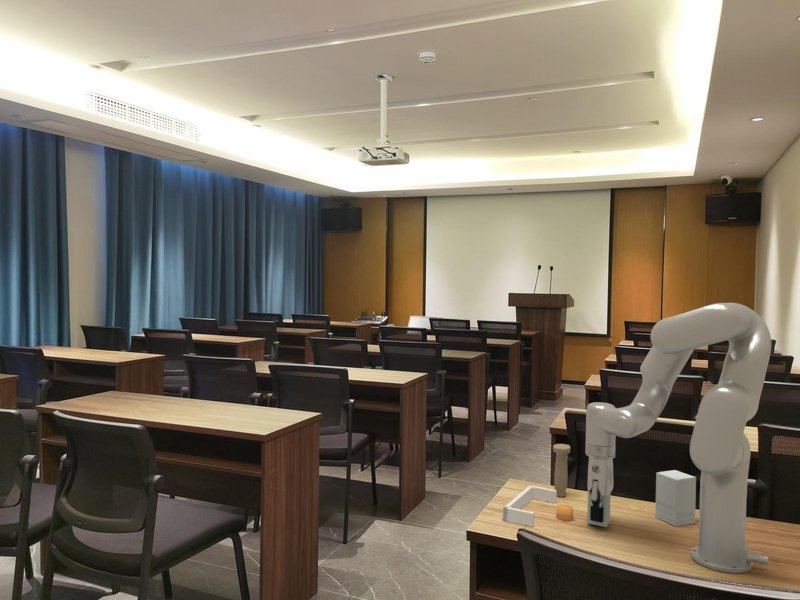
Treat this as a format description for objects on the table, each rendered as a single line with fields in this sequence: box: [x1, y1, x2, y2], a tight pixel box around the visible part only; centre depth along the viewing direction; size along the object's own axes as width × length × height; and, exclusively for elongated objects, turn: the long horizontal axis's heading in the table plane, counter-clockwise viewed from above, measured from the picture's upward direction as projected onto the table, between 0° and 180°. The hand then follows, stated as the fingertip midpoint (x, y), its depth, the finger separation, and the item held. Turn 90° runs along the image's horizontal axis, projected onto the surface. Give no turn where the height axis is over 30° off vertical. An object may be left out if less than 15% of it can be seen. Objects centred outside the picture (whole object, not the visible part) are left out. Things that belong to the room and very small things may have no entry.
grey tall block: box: [586, 491, 612, 528], centre depth 159 cm, size 5×4×8 cm
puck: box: [555, 504, 574, 522], centre depth 164 cm, size 4×4×3 cm
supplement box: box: [655, 469, 697, 527], centre depth 164 cm, size 7×7×13 cm
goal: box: [502, 484, 558, 528], centre depth 169 cm, size 8×22×4 cm, turn 150°
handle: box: [552, 443, 571, 498], centre depth 182 cm, size 5×6×15 cm
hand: (598, 517), depth 159 cm, fingers closed on grey tall block, 4 cm apart
